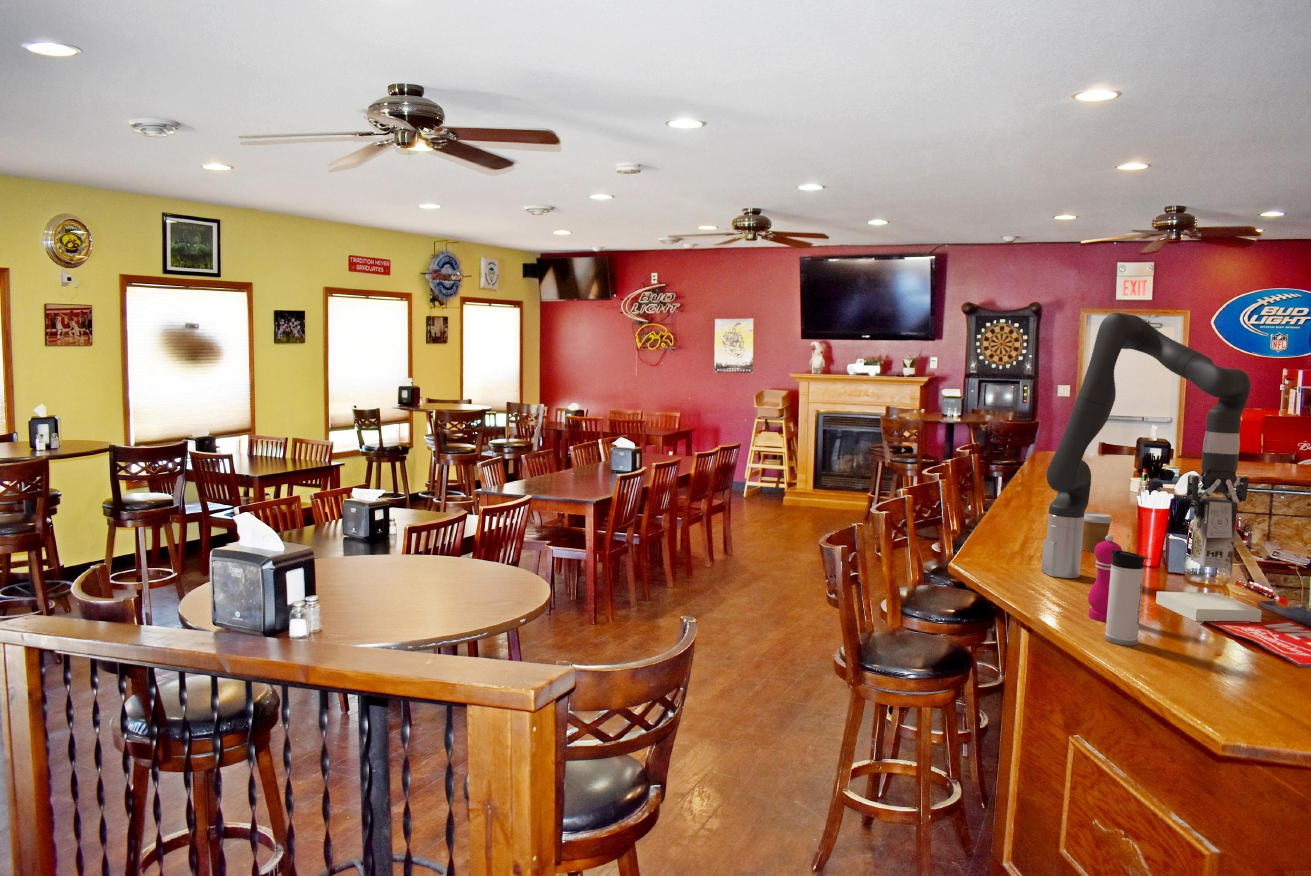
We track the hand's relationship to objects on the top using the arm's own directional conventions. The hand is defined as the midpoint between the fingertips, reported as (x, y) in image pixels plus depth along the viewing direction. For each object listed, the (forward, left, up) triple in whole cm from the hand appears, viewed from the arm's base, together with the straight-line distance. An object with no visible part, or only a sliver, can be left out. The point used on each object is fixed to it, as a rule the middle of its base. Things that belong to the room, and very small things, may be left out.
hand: (1214, 518), depth 225 cm
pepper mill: (-30, -7, -24) cm, 39 cm away
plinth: (0, 0, -24) cm, 24 cm away
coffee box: (0, 0, -12) cm, 12 cm away
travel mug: (-36, -25, -24) cm, 50 cm away
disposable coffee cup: (+10, +72, -24) cm, 76 cm away
